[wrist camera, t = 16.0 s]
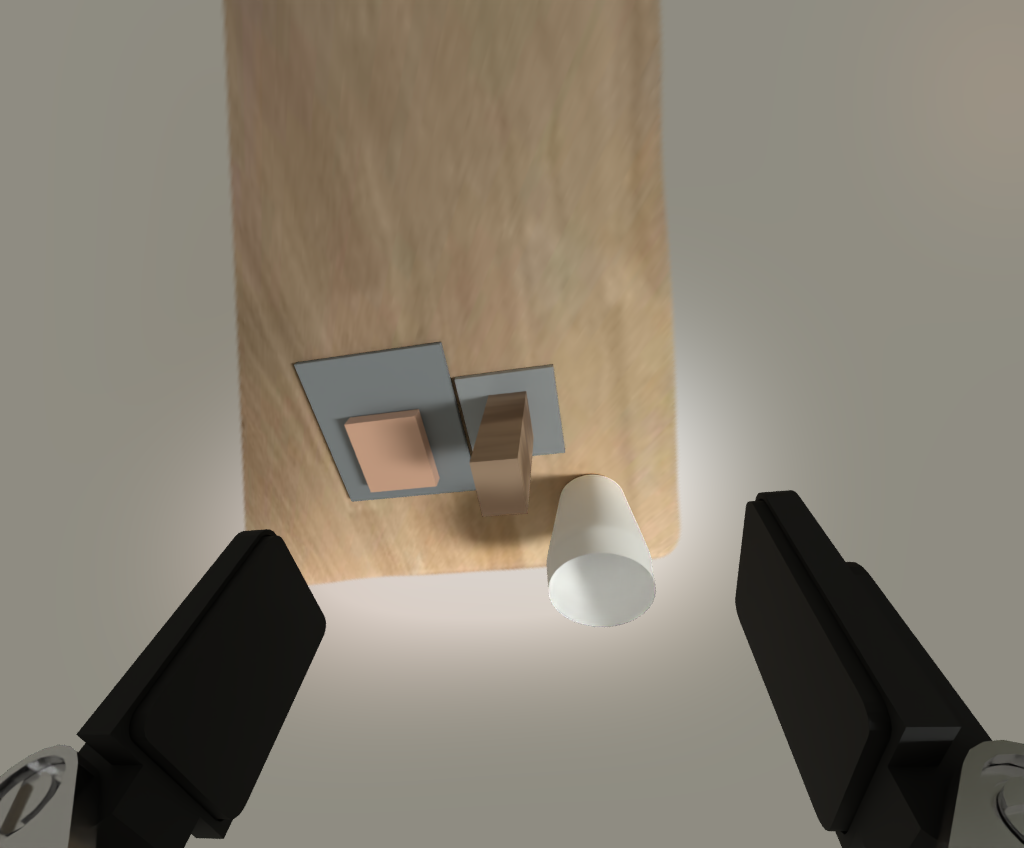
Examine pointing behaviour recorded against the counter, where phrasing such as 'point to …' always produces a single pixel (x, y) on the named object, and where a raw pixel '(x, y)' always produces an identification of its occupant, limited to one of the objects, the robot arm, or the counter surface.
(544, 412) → the coaster
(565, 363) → the counter surface
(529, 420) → the bar
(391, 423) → the tile
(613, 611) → the cup
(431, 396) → the mat
